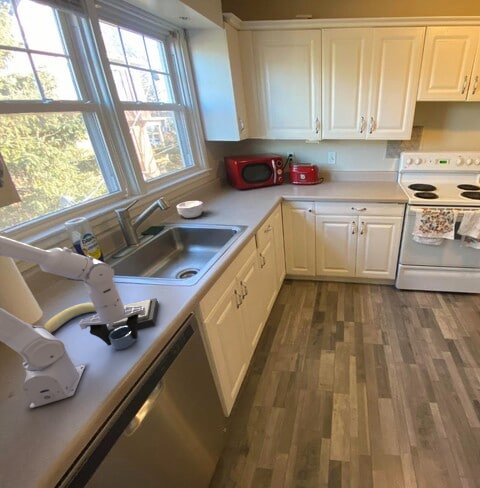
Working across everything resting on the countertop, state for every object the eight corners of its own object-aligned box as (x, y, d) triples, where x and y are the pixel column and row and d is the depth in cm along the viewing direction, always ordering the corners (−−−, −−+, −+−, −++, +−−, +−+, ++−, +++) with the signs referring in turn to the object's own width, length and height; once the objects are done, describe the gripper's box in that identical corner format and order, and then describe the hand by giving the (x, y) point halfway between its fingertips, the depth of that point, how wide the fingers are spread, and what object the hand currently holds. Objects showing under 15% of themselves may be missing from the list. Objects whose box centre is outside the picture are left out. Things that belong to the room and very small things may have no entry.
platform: (148, 318, 87) (146, 315, 87) (113, 327, 84) (112, 323, 83) (151, 302, 95) (150, 299, 94) (120, 309, 91) (118, 306, 91)
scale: (154, 325, 87) (152, 319, 86) (109, 337, 83) (106, 330, 82) (158, 303, 97) (156, 297, 96) (117, 312, 93) (115, 306, 92)
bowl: (134, 347, 79) (130, 336, 78) (111, 353, 77) (106, 342, 76) (137, 334, 84) (133, 323, 82) (115, 339, 82) (111, 329, 80)
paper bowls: (180, 213, 183) (178, 201, 179) (205, 210, 187) (203, 199, 183) (177, 221, 170) (174, 208, 166) (204, 218, 174) (201, 206, 170)
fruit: (40, 328, 87) (35, 320, 85) (97, 303, 98) (93, 295, 96) (47, 338, 83) (42, 329, 81) (105, 310, 94) (102, 302, 93)
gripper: (140, 286, 80) (153, 323, 86) (78, 299, 75) (97, 337, 81) (136, 300, 74) (151, 339, 80) (69, 315, 69) (89, 355, 75)
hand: (123, 339), depth 80 cm, fingers closed on bowl, 5 cm apart
